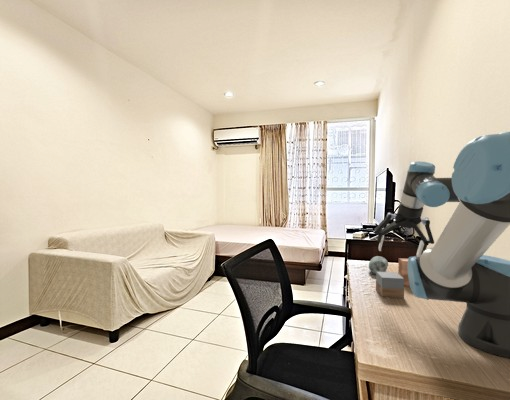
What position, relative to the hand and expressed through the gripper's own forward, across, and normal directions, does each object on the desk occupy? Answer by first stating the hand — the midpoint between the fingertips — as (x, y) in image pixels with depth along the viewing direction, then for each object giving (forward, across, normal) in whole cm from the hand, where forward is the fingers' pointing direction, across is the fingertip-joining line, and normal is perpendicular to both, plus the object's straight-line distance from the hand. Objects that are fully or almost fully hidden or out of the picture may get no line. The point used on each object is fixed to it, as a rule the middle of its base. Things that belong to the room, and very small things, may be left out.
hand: (398, 252), depth 102 cm
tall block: (+22, -9, -10) cm, 25 cm away
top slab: (+14, +1, +4) cm, 14 cm away
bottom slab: (+17, 0, +5) cm, 18 cm away
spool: (+28, +1, -22) cm, 36 cm away
